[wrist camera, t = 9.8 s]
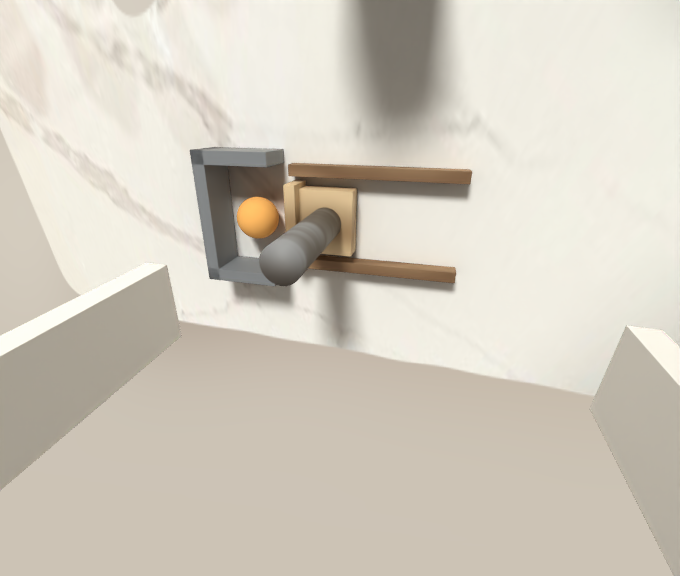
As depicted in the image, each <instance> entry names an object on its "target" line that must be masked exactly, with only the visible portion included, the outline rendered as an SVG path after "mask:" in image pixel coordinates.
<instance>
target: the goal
mask: <svg viewBox="0 0 680 576" xmlns="http://www.w3.org/2000/svg"><path fill="white" fill-rule="evenodd" d="M190 155H191V162H192V168H193V174H194V181H195V187H196V194H197V200H198V207H199V213H200V220H201V226H202V232H203V239H204V245H205V252H206V258H207V265H208V271H209V277H210V279H216V280H225V281H234V282H243V283H251V284H260V285H269V286H276V284H274V283H272V282H271V281H269V280H268V279H267V278H266V277H265V276H264V274H263V273H262V271H261V268H260V264H259V258H253V257H243V256H238V252H237V244H236V235H235V226H234V218H233V209H232V200H231V192H230V183H229V174H228V166H249V167H269V166H273V165H277V164H281V163H284V155H283V149H259V148H224V147H212V148H203V149H193V150H190Z"/></svg>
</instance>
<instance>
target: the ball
mask: <svg viewBox="0 0 680 576" xmlns="http://www.w3.org/2000/svg"><path fill="white" fill-rule="evenodd" d="M237 221H238V225H239V227H240V229H241V230H242V231H243V232H244V233H245V234H246V235H248V236H250V237H253V238H265V237H268V236H270V235H271V234H272V233H273V232H274V231H275V230H276V228H277V226H278V223H279V214H278V211H277V209H276V207H275V206H274V204H273V203H272V202H271V201H269V200H268V199H265V198H263V197H252V198H249V199H247V200H245V201H244V202H243V203H242V204H241V205H240V207H239V209H238V212H237Z"/></svg>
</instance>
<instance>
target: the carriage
mask: <svg viewBox="0 0 680 576" xmlns="http://www.w3.org/2000/svg"><path fill="white" fill-rule="evenodd" d="M283 191H284V209H285V228H286V232H285V233H284V234H283V235H281V236H280V237H279V238H277V239H276V240H274V241H273V242H272V243H270V244H269V245H268V246H266V247H265V248H264V249H263V250H262V252H261V254H260V258H259V264H260V268H261V271H262V273H263V274H264V276H265V277H266V278H267V279H268V280H269V281H271V282H272V283H274V284H276V285H280V286H288V285H291V284H293V283H295V282H296V281H297V280H298V279H299V278H300V277H301V276H302V275H303V273H304V272H305V271H306V270H307V269H308V268H309V267H310V265H311V264H312V263H313V262H314V261H315V260H316V259H317V257H318V256H319V255H320V254H329V255H340V256H352V254H353V253H354V251H355V240H356V206H357V188H339V187H320V186H306V180H294V181H292V182H289V183H287V184H284V185H283Z"/></svg>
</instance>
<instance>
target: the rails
mask: <svg viewBox="0 0 680 576" xmlns="http://www.w3.org/2000/svg"><path fill="white" fill-rule="evenodd" d="M288 174H289V176H299V177H321V178H343V179H365V180H387V181H409V182H432V183H454V184H470V182H471V176H472V171H471V170H468V169H441V168H414V167H387V166H360V165H333V164H306V163H292V164H289V165H288ZM309 269H319V270H329V271H339V272H349V273H359V274H369V275H378V276H388V277H398V278H408V279H418V280H428V281H438V282H448V283H455V276H456V270H455V267H444V266H433V265H422V264H412V263H401V262H390V261H379V260H368V259H357V258H346V257H336V256H325V255H319V256H318V257H317V259H316V260H315V261H314V262H313V263H312V264H311V265H310V267H309Z"/></svg>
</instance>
